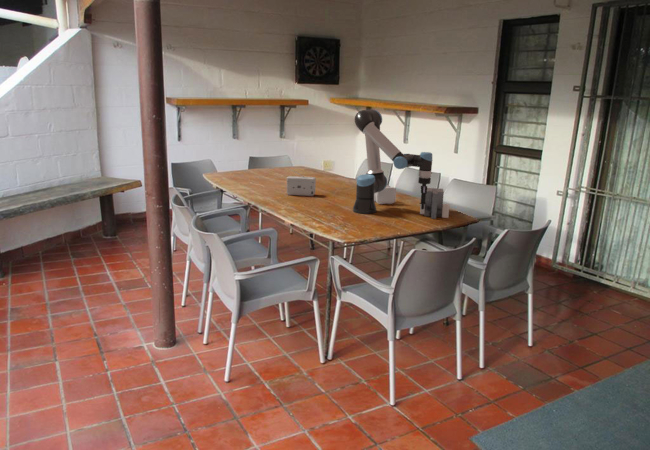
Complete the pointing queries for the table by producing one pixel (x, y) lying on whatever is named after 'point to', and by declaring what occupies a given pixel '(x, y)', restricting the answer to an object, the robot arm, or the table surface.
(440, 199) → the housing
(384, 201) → the cable organizer
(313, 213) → the table surface
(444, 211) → the plug
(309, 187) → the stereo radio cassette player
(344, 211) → the table surface
